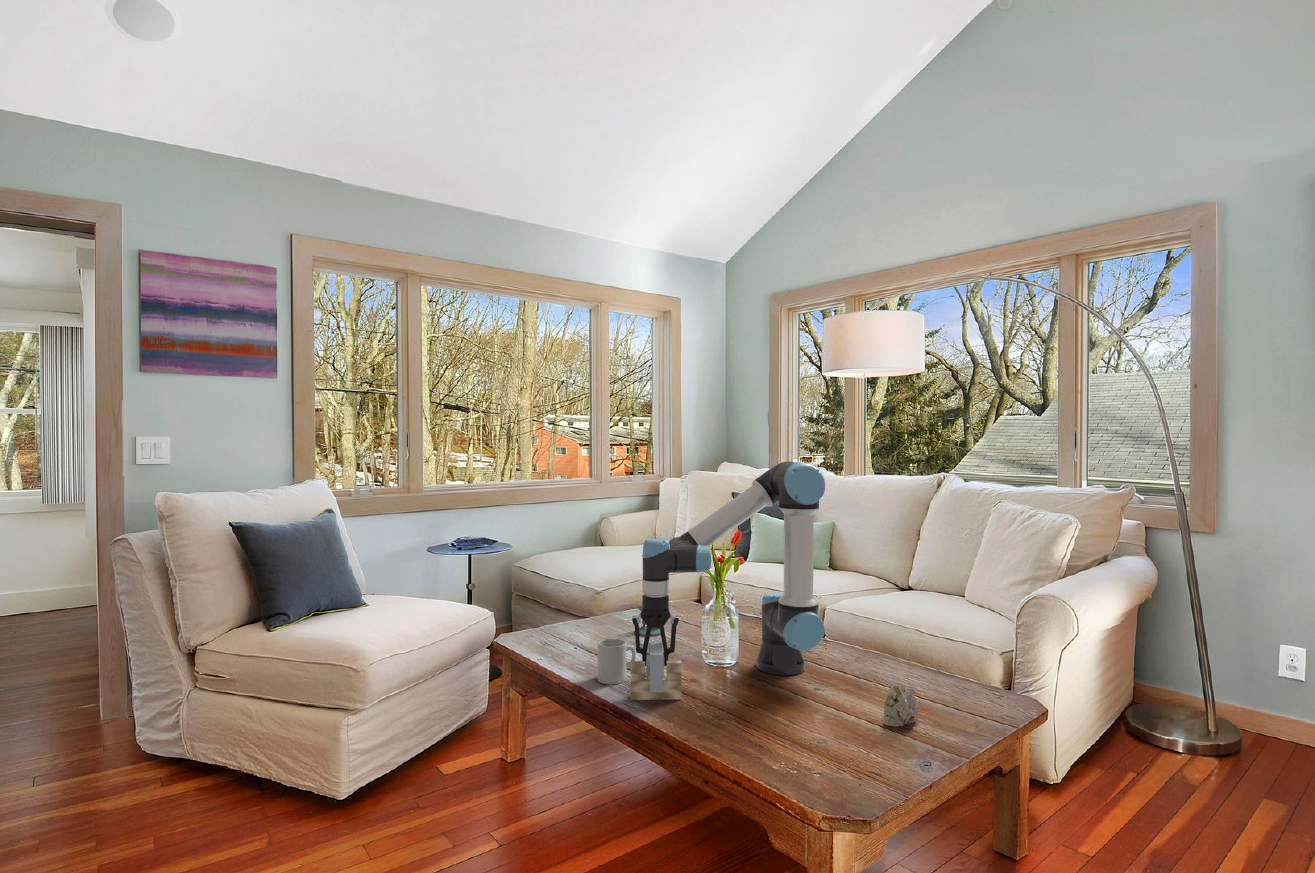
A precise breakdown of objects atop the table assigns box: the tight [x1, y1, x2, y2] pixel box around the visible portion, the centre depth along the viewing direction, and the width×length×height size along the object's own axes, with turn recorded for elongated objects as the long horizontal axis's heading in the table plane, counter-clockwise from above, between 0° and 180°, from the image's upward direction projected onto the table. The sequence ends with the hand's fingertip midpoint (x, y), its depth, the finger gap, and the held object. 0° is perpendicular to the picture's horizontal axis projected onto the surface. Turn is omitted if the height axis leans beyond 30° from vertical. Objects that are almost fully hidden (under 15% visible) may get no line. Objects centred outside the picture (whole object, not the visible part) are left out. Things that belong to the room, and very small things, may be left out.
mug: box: [597, 638, 637, 685], centre depth 206 cm, size 12×8×11 cm
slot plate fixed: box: [630, 660, 683, 701], centre depth 190 cm, size 14×2×10 cm, turn 92°
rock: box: [883, 685, 919, 727], centre depth 176 cm, size 12×7×10 cm, turn 134°
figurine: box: [637, 604, 661, 638], centre depth 254 cm, size 11×11×12 cm
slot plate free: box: [648, 641, 664, 692], centre depth 190 cm, size 12×4×10 cm, turn 2°
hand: (655, 677), depth 194 cm, fingers closed on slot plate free, 3 cm apart
